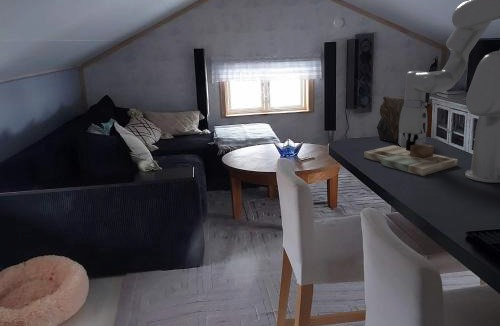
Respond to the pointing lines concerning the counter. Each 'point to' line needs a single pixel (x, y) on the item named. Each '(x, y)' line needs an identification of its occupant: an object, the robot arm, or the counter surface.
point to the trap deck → (409, 160)
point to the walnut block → (421, 150)
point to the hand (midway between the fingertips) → (410, 150)
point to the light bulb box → (403, 142)
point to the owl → (390, 118)
